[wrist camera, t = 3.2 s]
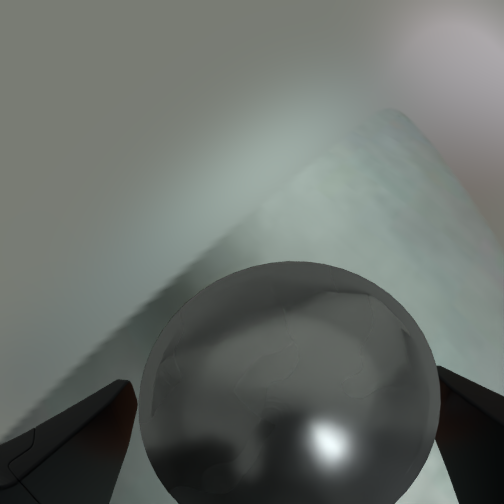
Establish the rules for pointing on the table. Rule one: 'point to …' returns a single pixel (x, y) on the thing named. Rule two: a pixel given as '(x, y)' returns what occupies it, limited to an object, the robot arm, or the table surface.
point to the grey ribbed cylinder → (290, 391)
